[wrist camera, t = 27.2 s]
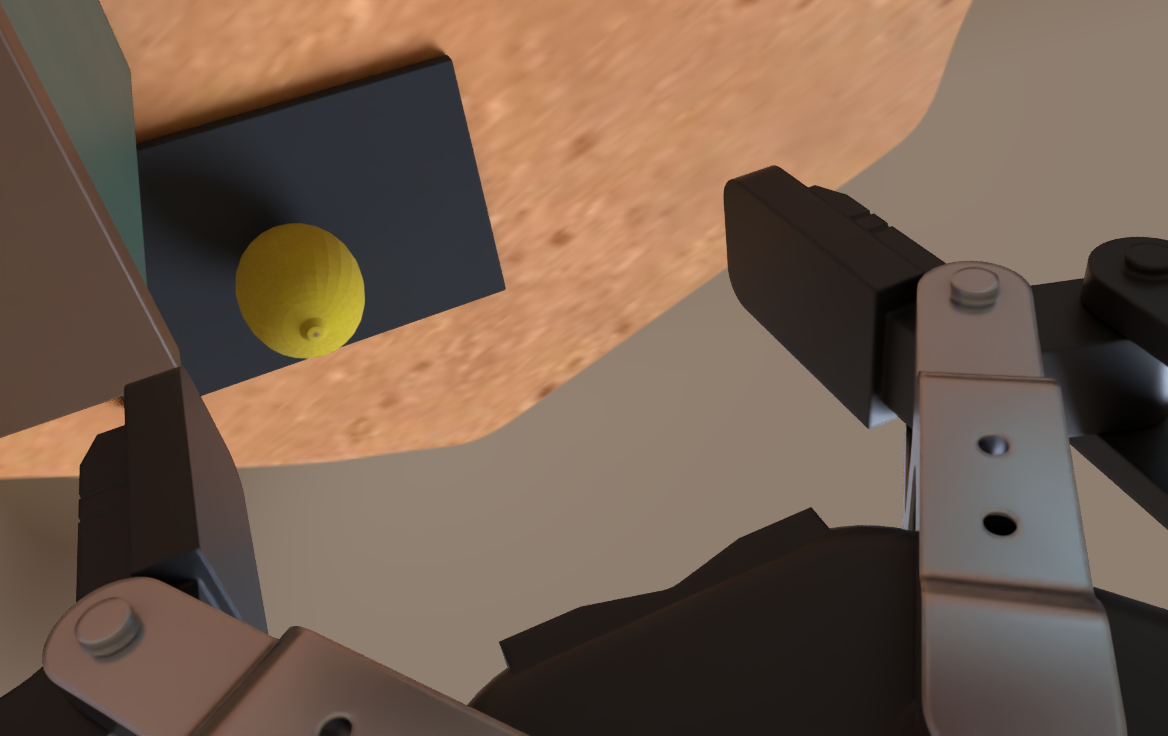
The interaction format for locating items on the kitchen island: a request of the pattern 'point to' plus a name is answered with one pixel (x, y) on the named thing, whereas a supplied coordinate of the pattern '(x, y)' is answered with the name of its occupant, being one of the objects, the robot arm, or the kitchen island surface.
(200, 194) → the mat
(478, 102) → the kitchen island surface
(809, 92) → the kitchen island surface
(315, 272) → the lemon
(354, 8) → the kitchen island surface
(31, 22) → the cupboard
